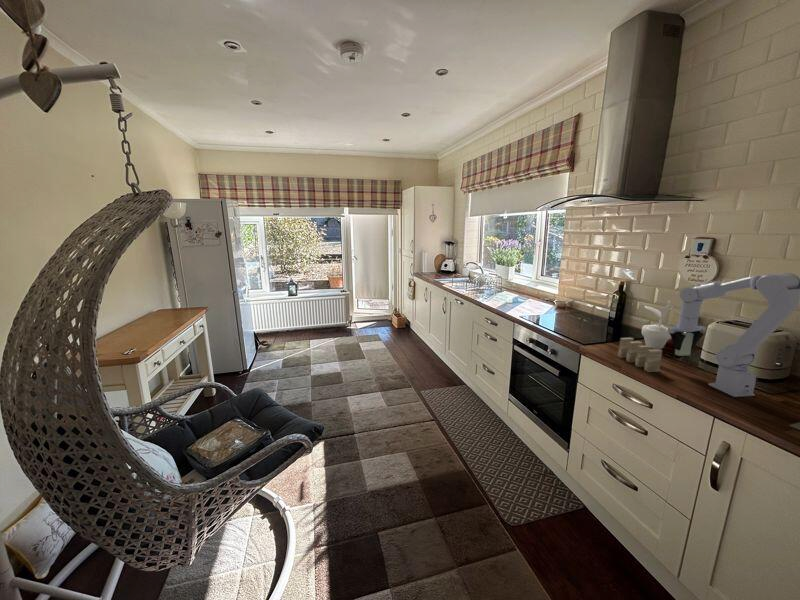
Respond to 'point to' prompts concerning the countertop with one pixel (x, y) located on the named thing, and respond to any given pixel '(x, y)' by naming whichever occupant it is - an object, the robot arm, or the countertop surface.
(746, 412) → the countertop surface
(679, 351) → the domino
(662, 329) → the potted plant
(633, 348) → the domino
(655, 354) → the domino
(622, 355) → the domino
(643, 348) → the domino
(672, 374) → the countertop surface
